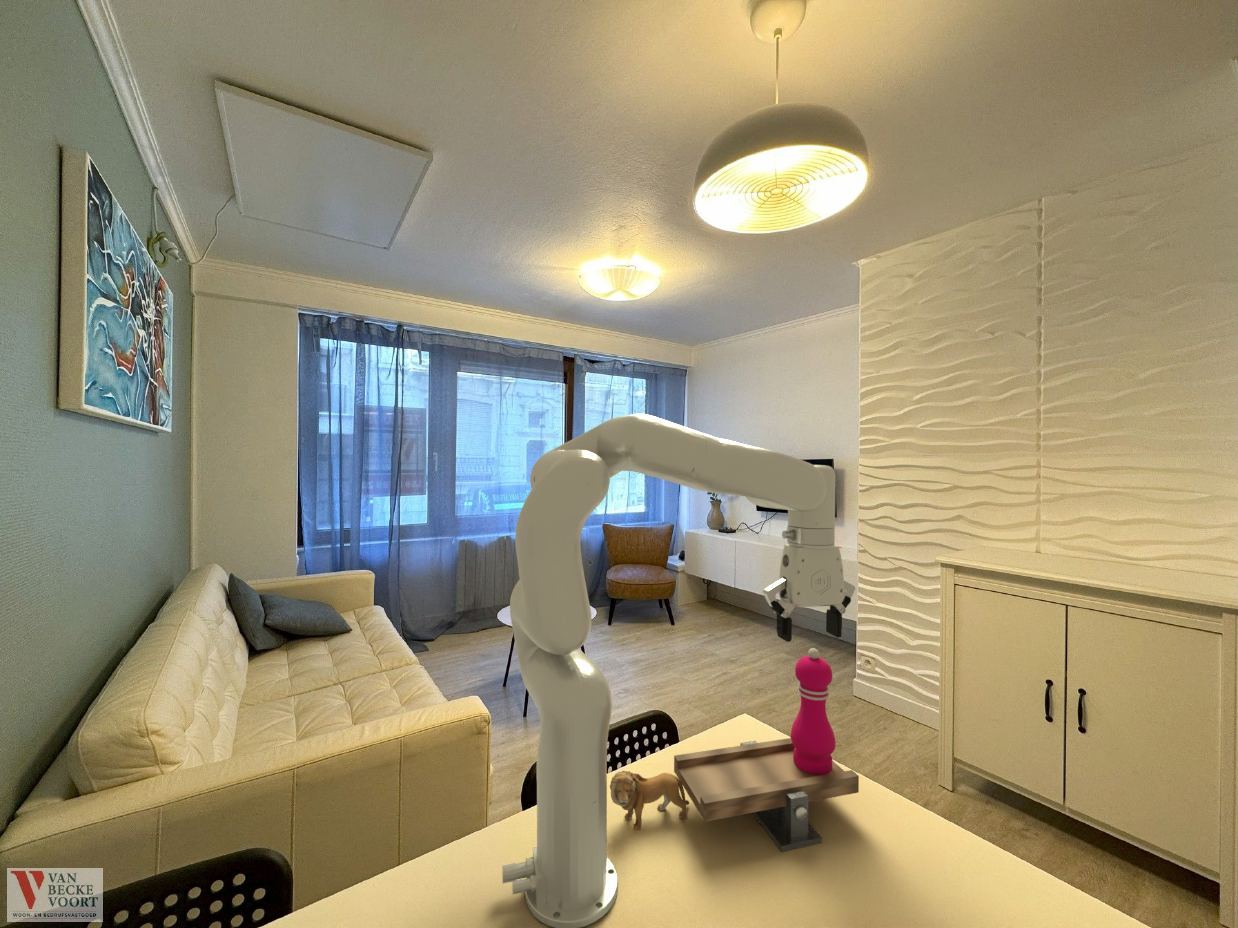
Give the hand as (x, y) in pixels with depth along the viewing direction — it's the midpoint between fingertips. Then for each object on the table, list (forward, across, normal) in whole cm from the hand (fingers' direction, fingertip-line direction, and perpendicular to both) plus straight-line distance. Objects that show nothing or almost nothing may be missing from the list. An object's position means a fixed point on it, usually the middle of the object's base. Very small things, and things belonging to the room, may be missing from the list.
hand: (809, 636), depth 87 cm
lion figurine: (+29, -27, +3) cm, 40 cm away
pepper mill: (+22, +1, 0) cm, 22 cm away
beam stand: (+29, -7, 0) cm, 29 cm away
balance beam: (+24, -8, 0) cm, 25 cm away
